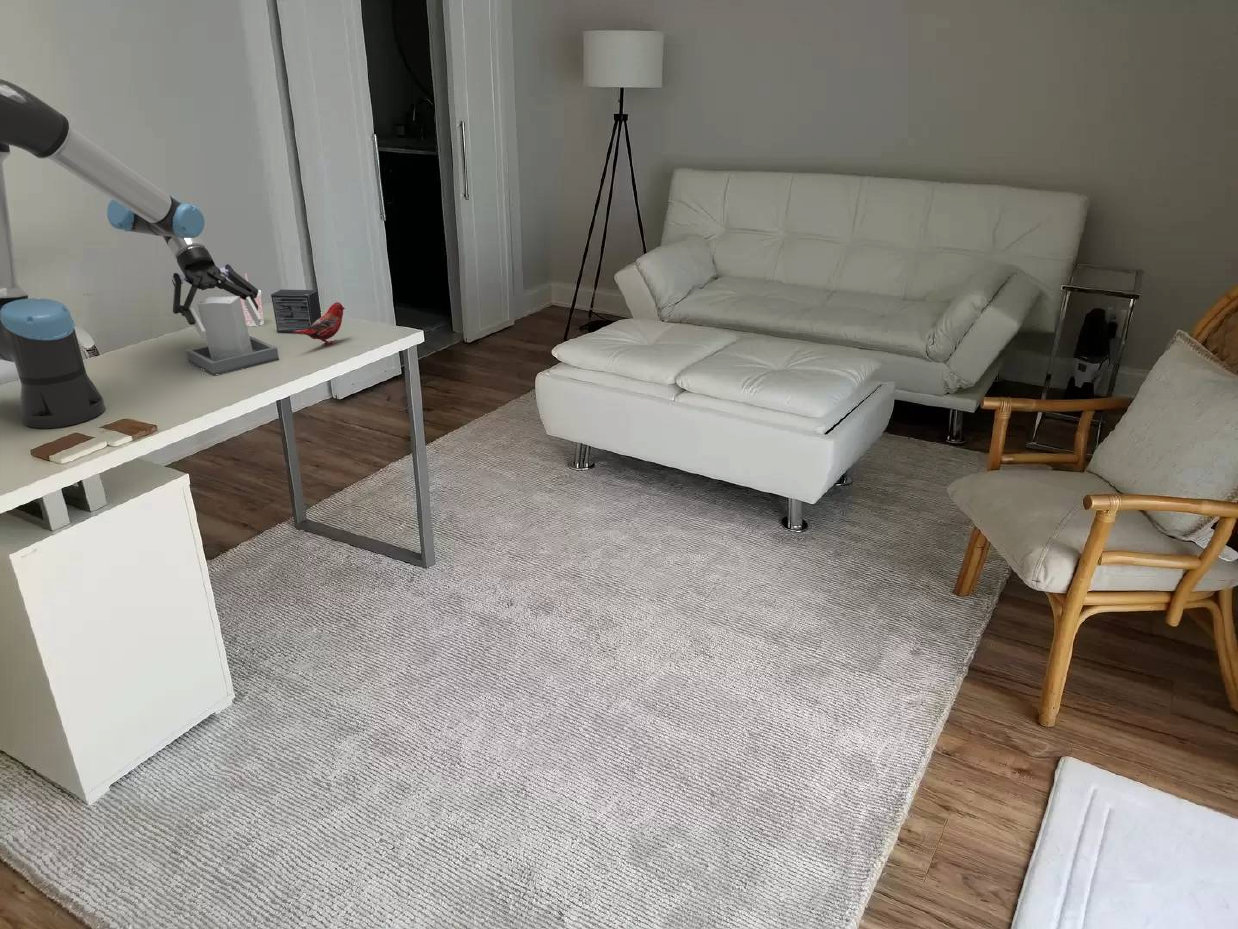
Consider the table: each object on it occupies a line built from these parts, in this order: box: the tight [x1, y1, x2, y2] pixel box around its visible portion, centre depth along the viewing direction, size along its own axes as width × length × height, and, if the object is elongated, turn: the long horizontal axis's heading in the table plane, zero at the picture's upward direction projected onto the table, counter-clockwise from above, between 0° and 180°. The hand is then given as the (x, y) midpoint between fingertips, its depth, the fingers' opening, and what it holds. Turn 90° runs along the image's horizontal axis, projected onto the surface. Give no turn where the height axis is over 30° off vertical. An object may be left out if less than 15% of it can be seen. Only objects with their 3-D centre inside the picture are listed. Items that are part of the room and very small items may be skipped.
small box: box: [270, 289, 322, 334], centre depth 238 cm, size 11×6×10 cm, turn 84°
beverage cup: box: [240, 272, 265, 327], centre depth 242 cm, size 6×6×14 cm
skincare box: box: [197, 295, 253, 361], centre depth 214 cm, size 8×6×15 cm
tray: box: [186, 335, 280, 376], centre depth 217 cm, size 16×14×3 cm
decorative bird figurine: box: [291, 301, 346, 347], centre depth 225 cm, size 3×18×10 cm, turn 150°
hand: (231, 328), depth 212 cm, fingers open, 13 cm apart
